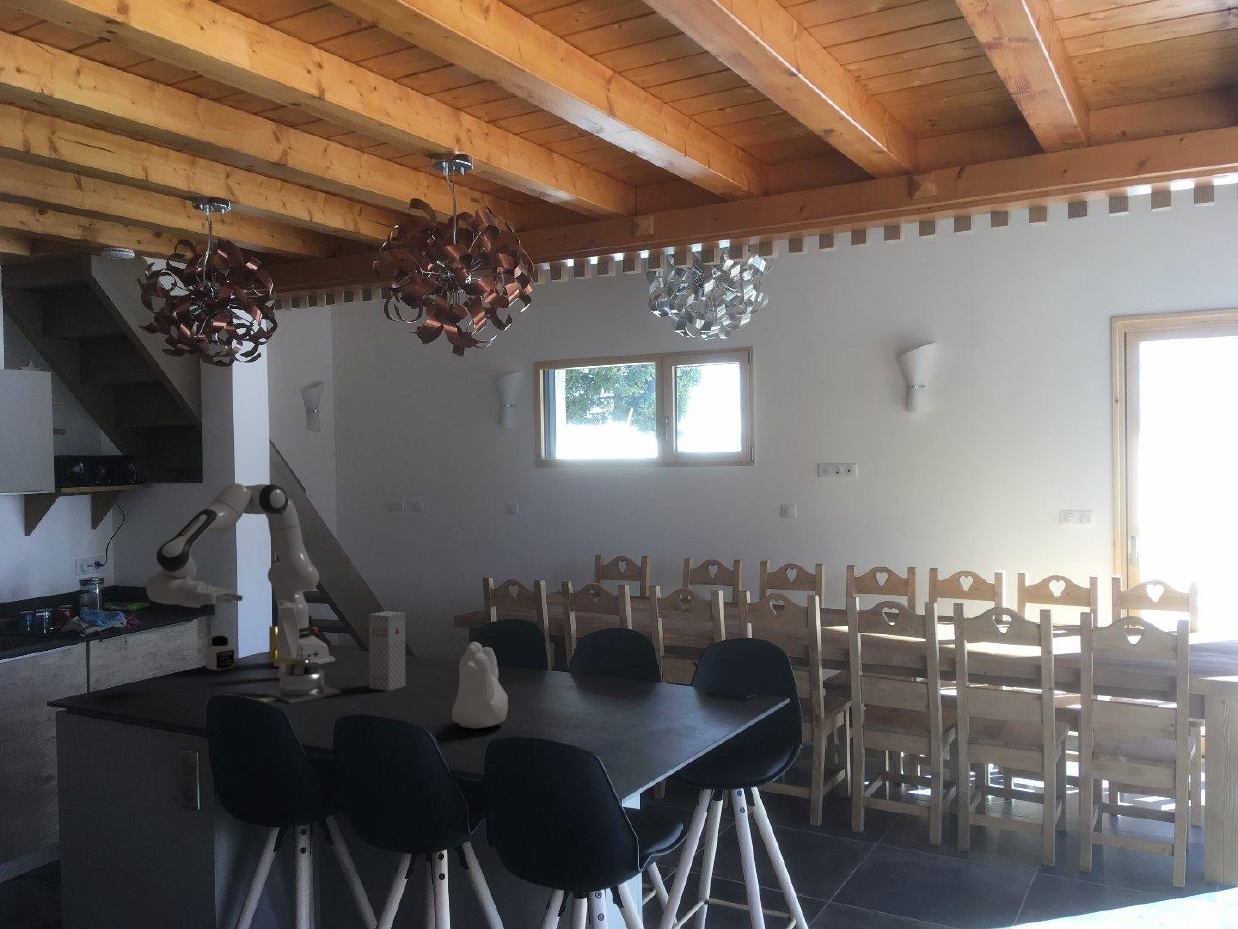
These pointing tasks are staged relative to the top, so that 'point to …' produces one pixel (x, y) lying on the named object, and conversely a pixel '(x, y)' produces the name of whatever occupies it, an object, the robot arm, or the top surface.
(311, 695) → the metal pedestal base
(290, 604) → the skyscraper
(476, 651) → the white figurine
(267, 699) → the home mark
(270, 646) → the crank handle
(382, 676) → the box
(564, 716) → the top surface
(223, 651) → the medicine bottle
